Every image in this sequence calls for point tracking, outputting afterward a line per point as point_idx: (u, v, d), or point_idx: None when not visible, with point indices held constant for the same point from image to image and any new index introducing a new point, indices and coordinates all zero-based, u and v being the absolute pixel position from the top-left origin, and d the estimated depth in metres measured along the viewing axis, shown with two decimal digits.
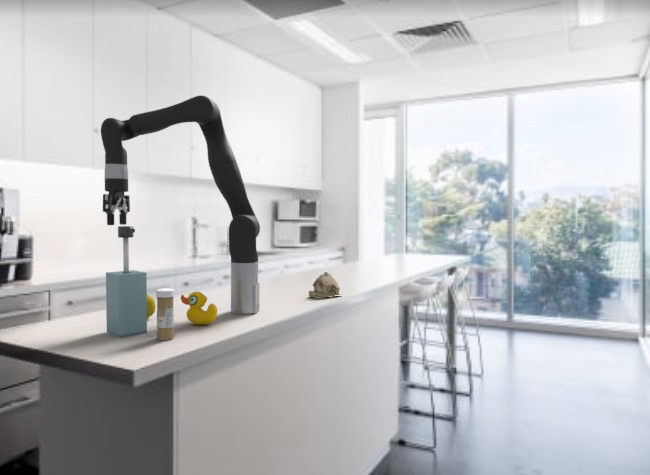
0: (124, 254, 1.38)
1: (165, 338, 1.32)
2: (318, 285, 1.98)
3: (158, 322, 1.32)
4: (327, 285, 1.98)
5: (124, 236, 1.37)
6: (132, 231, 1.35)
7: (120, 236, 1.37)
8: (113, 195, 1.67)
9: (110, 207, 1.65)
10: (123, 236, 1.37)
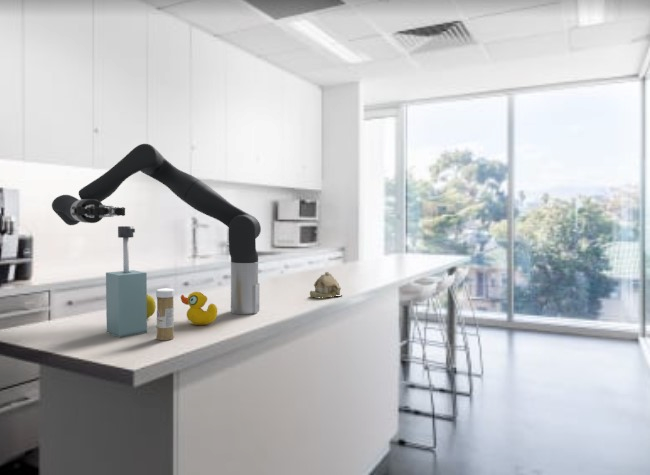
0: (124, 254, 1.38)
1: (165, 338, 1.32)
2: (319, 285, 1.98)
3: (158, 322, 1.32)
4: (328, 285, 1.98)
5: (124, 236, 1.37)
6: (132, 231, 1.35)
7: (120, 236, 1.37)
8: (81, 208, 1.50)
9: (77, 207, 1.45)
10: (123, 236, 1.37)
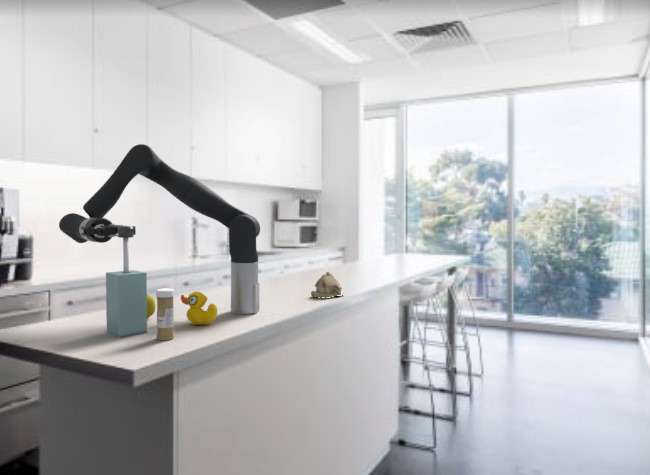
0: (124, 254, 1.38)
1: (165, 338, 1.32)
2: (321, 285, 1.98)
3: (158, 322, 1.32)
4: (330, 285, 1.98)
5: (124, 236, 1.37)
6: (132, 231, 1.35)
7: (120, 236, 1.37)
8: (91, 227, 1.46)
9: None
10: (123, 236, 1.37)
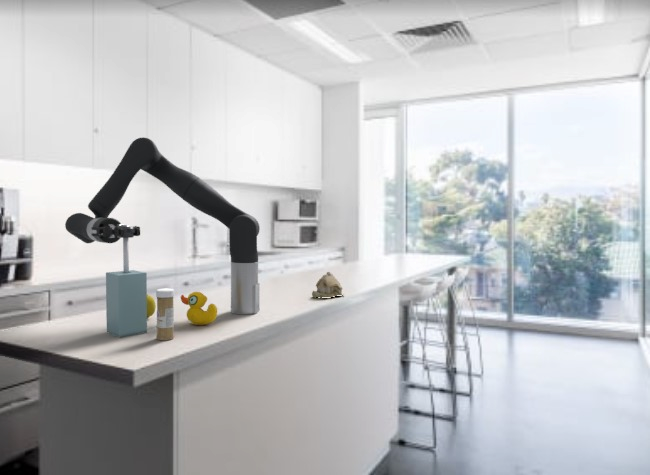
0: (124, 254, 1.38)
1: (165, 338, 1.32)
2: (322, 285, 1.98)
3: (158, 322, 1.32)
4: (331, 285, 1.98)
5: (124, 236, 1.37)
6: (132, 231, 1.35)
7: None
8: None
9: (103, 227, 1.37)
10: (123, 236, 1.37)
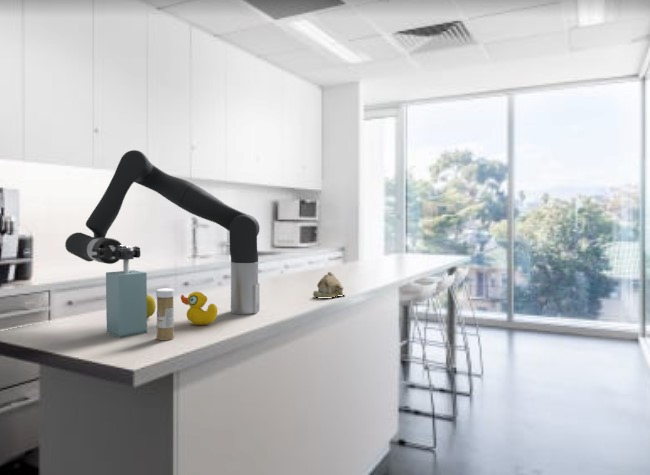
0: None
1: (165, 338, 1.32)
2: (323, 285, 1.98)
3: (158, 322, 1.32)
4: (332, 285, 1.98)
5: (124, 258, 1.37)
6: (132, 253, 1.36)
7: None
8: (100, 249, 1.41)
9: (103, 249, 1.38)
10: (123, 258, 1.37)
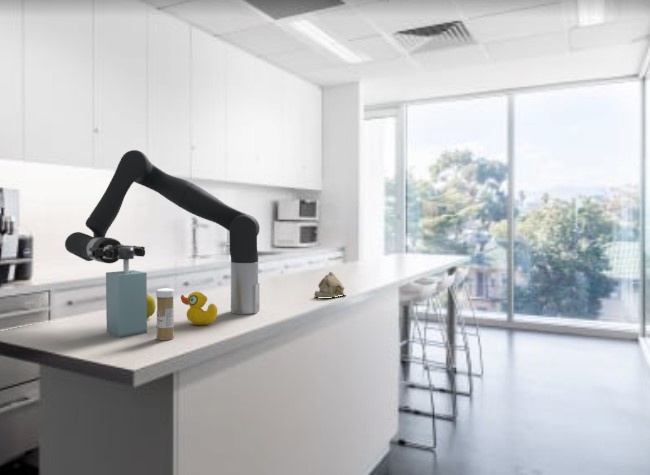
0: None
1: (165, 338, 1.32)
2: (324, 285, 1.98)
3: (158, 322, 1.32)
4: (333, 285, 1.98)
5: (124, 258, 1.37)
6: (132, 253, 1.36)
7: (120, 258, 1.37)
8: (99, 248, 1.42)
9: (95, 249, 1.37)
10: (123, 258, 1.37)
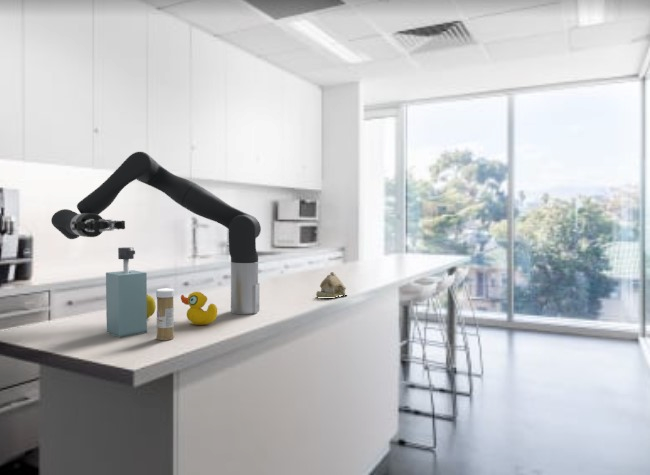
0: None
1: (165, 338, 1.32)
2: (326, 285, 1.98)
3: (158, 322, 1.32)
4: (335, 285, 1.99)
5: (124, 258, 1.37)
6: (132, 253, 1.36)
7: (120, 258, 1.37)
8: (81, 222, 1.50)
9: (77, 222, 1.46)
10: (123, 258, 1.37)
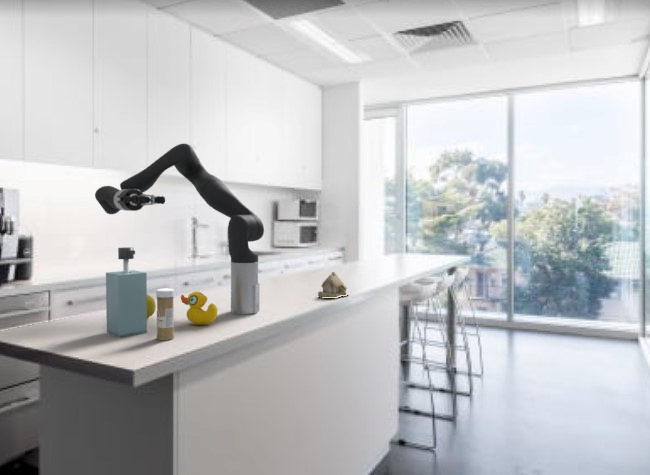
0: None
1: (165, 338, 1.32)
2: (328, 285, 1.98)
3: (158, 322, 1.32)
4: (337, 285, 1.99)
5: (124, 258, 1.37)
6: (132, 253, 1.36)
7: (120, 258, 1.37)
8: None
9: None
10: (123, 258, 1.37)
